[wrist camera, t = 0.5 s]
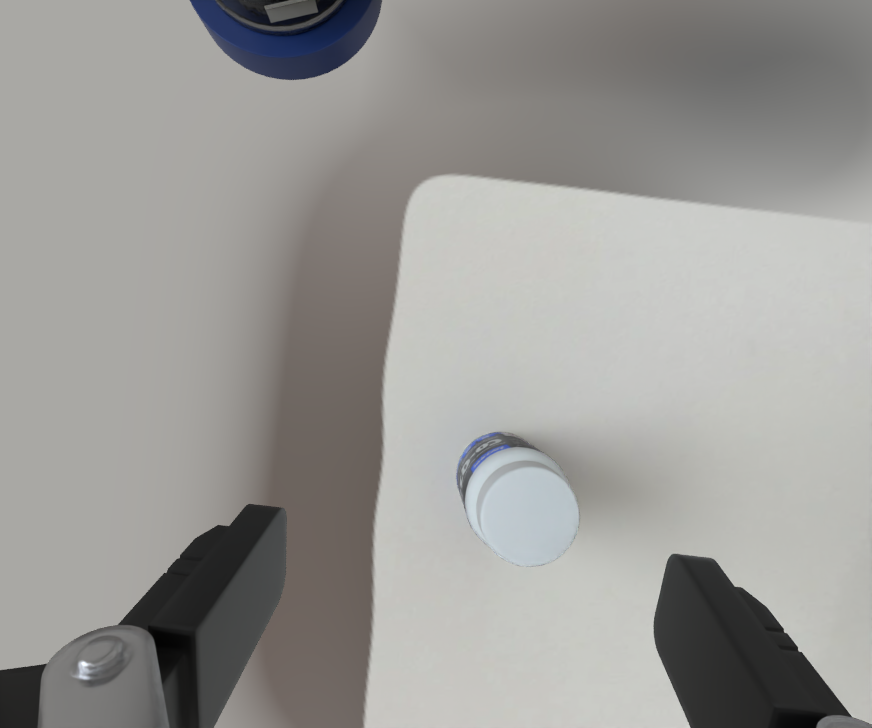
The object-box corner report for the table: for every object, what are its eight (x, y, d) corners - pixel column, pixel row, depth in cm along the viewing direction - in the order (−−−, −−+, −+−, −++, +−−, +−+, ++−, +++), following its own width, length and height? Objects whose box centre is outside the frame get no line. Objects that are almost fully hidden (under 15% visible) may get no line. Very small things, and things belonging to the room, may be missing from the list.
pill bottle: (480, 416, 29) (505, 434, 20) (555, 455, 29) (611, 490, 21) (440, 493, 29) (449, 543, 20) (515, 532, 29) (556, 598, 20)
